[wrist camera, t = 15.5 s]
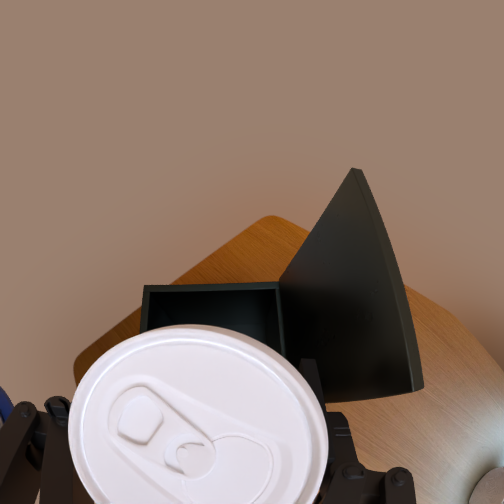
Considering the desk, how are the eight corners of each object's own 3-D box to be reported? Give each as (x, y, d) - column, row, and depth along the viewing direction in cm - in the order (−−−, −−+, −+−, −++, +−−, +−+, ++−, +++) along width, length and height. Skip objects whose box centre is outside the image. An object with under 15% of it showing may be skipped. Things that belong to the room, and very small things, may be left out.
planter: (506, 467, 21) (540, 465, 12) (481, 516, 16) (514, 521, 6) (481, 462, 24) (520, 461, 15) (453, 516, 19) (488, 525, 9)
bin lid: (413, 392, 9) (425, 388, 9) (351, 166, 15) (362, 169, 15) (290, 404, 22) (299, 403, 22) (278, 279, 28) (286, 279, 28)
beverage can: (240, 492, 13) (242, 594, 2) (139, 430, 15) (23, 447, 4) (302, 401, 16) (392, 395, 6) (201, 343, 18) (151, 260, 8)
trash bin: (171, 404, 33) (137, 404, 21) (172, 321, 40) (143, 284, 28) (276, 402, 34) (294, 404, 22) (269, 319, 40) (281, 280, 29)
